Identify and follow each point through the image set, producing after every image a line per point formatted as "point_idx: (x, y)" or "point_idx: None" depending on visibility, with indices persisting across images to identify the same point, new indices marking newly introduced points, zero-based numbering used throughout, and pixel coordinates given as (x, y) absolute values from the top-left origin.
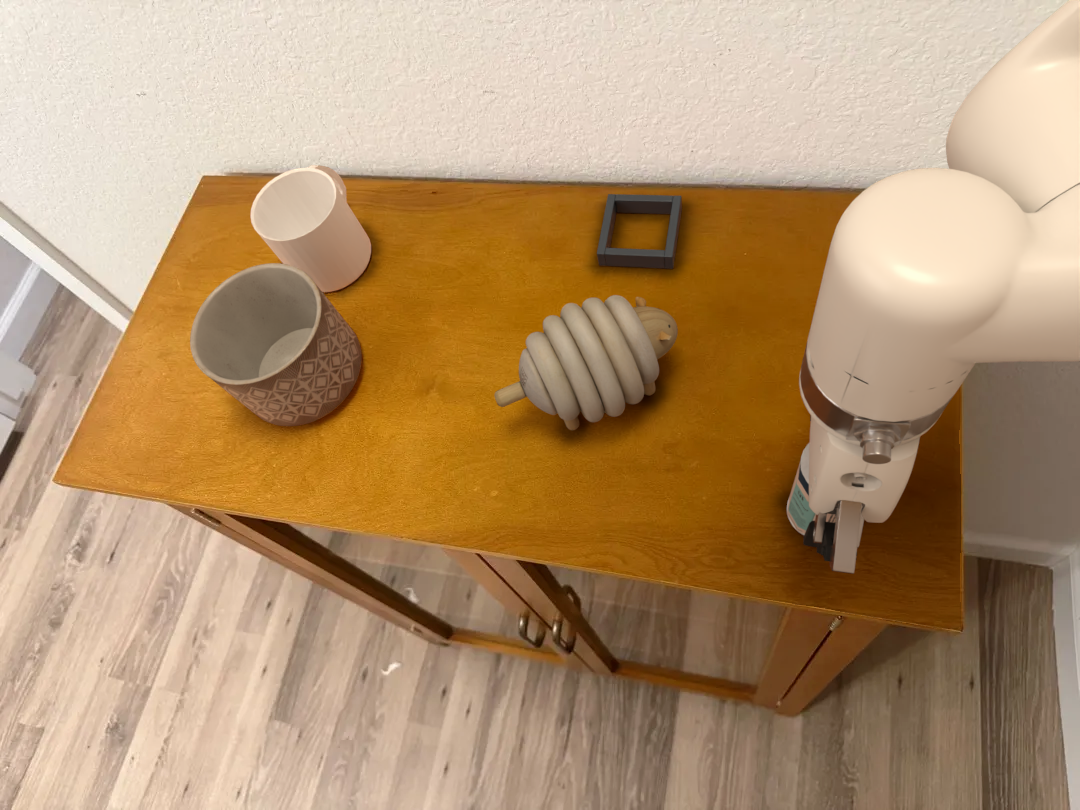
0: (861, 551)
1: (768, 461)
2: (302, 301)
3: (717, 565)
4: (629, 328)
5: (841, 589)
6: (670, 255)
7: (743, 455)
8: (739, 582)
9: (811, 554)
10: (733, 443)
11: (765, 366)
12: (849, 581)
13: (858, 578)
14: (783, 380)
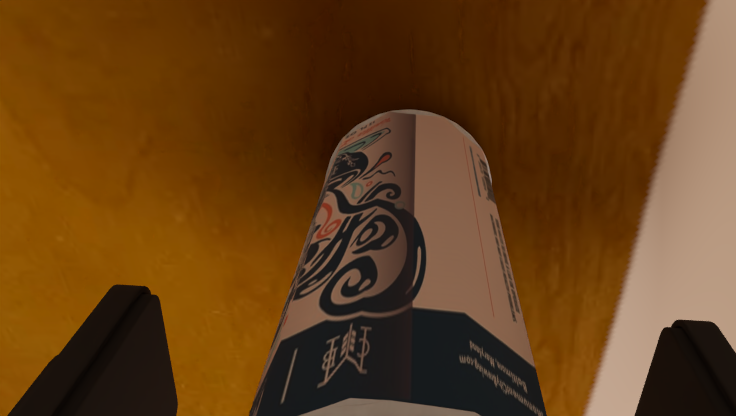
0: (516, 67)
1: (280, 284)
2: None
3: (553, 378)
4: None
5: (628, 121)
6: None
7: (275, 332)
8: (596, 339)
9: (526, 192)
10: (248, 350)
11: (25, 289)
12: (606, 100)
13: (598, 76)
14: (49, 252)
